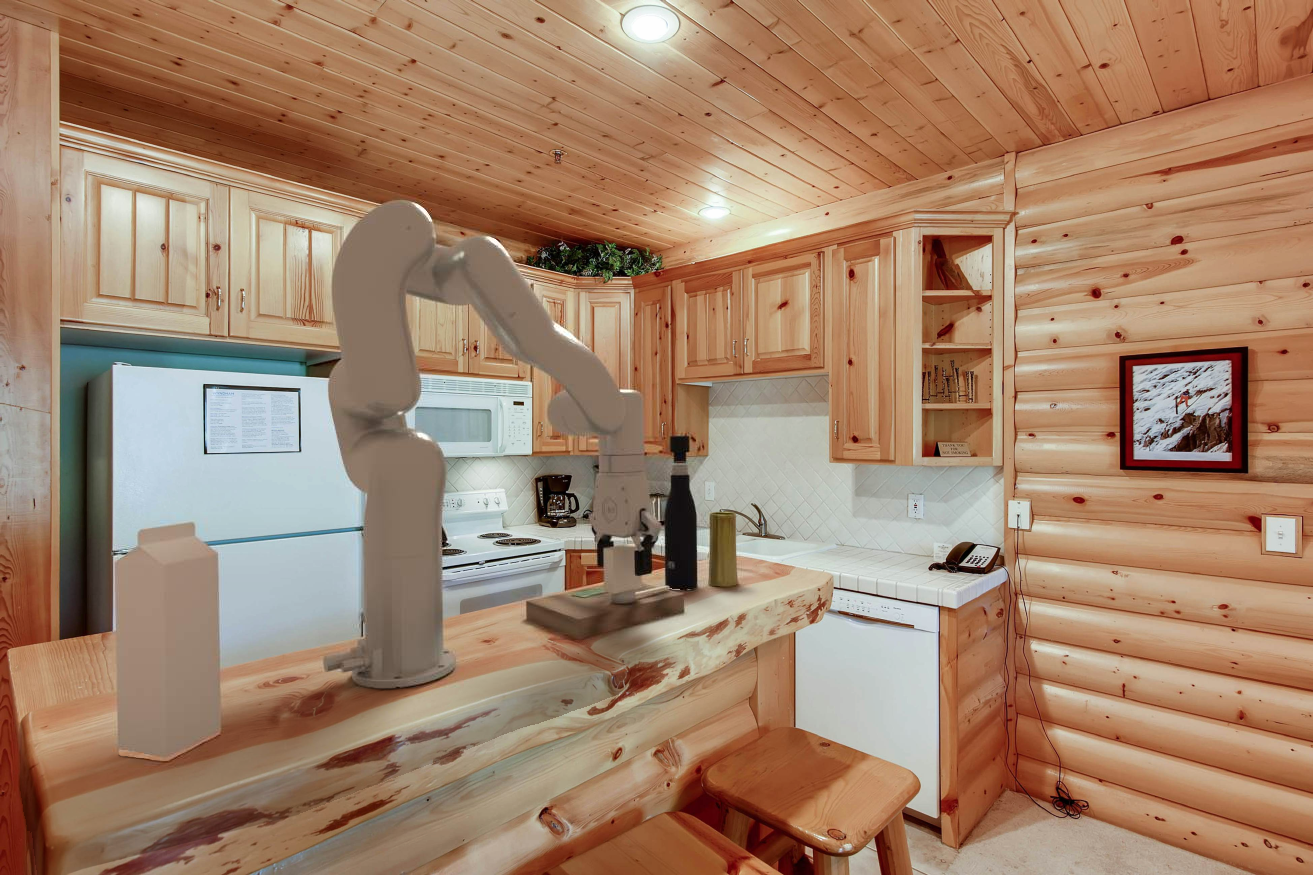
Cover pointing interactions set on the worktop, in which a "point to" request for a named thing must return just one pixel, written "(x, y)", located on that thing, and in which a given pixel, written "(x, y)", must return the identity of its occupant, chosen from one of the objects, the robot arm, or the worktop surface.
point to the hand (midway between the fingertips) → (624, 569)
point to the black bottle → (680, 523)
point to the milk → (167, 642)
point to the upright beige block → (623, 575)
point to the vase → (723, 550)
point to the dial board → (600, 610)
